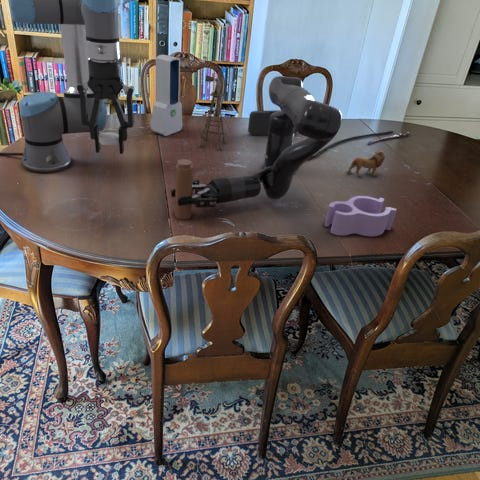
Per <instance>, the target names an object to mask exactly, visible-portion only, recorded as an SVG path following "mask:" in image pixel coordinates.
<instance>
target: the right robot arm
mask: <svg viewBox="0 0 480 480" xmlns="http://www.w3.org/2000/svg"><path fill="white" fill-rule="evenodd" d="M303 86H304V84H303V81H302V79H301V78H300V77H296V76H281V75H279V76H278V75H277V76H275V77H273V78H271V81H270V83H269V86H268V96H269V99H270V101H271V103H272V104H273V105H275V106H277V107H278V108H280V109H281V110H280V111H277V112H274V113H272V114H271V116H270V123H269V131H268V135H267V138H266V147H265V153H264V154H263V155H264V162H263V169H261V170H258V171H256V172H254V173H250V174H248V175H247V174H246V175H245V174H244V175H239V176H236V175H234V176H226V177H218V178H213V179H211V180H210V181H209V182H208V183H200V179H194V180H193V181H192V196H191V197H190V196H188V197H181V198H178V205H179V206H181V205H188V204H191V205H192V206H195V208H197V209H200V208H201V209H202V208H204V209H205V208H216V206H217V205H219V204H226V203H232V202H237V201H240V200H244V199H251V198H255V197H258V196H259V195H260V193H261V190H262V187H263V190H264V192H265V194H266V196H267V197H268V198H269V199H271V200H279V199H281V198H283V197H284V196H286V195H287V193H288V191H289V189H290V187H291V184H292V181H293V178H294V175H296V173H297V172H298V171H299V169H300V168H302V166H303V165H304V164H305V162H307V161H309V160H312V159H314V158H316V157H318V156H319V155H320V154H322V153H323V152H324V151H326V150H328V149H330V148H331V147H332V148H333V147H334V146H336V145H338V144H341V143H344V142H347V141H350V140H355V139H361V138H367V137H372V136H380V135H387V134H393V133H394V130H388V131H382V132H381V131H380V132H375V133H368V134H362V135H356V136H352V137H351V136H350V137H346V138H343V139H341V140H338V141H336V142H333V143H331V144H329V143H330V142H332V140H334V138H335V137H336V136H337V134H338V133H339V131H340V129H341V124H342V120H343V115H342V111H340V109H339V108H336V107H334V106H331V105H329V104H326V103H324V102H321V101H317V100H315V98H314V97H313V95H312V93H310V91H308V90H307V89H306V88H304V87H303ZM295 129H296V131H297V132H296V133H298V134H299V135H301V136H303V137H306V138H305V139H303V140H301V141H299V142H296V143H294V137H295V133H294V131H295ZM328 144H329V145H328ZM261 186H262V187H261ZM170 196H171V197H172V198H175V188H172V189H171V190H170Z"/></svg>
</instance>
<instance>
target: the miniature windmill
mask: <svg viewBox="0 0 480 480" xmlns="http://www.w3.org/2000/svg"><path fill="white" fill-rule="evenodd" d="M219 72H220V73H219V75H217V78H214V77H213V76H210V75H205V83H207V82H208V83H212V82H215V88H214V91H211V93H210V94H209V96H211V97H212V99H211V101H210V103H211V104H210V106H209V110H208V113H207V118H206V122H205V124H204V129H203V131H202V132H203V133H202V136H201V141H200V145H199V147H202V146H203V143H204V139H205V140H206V141H208V140H213V141H218V150H222V149H221V141H222V143H223V144H225V143H226V140H225V139H226V138H225V136H226V134H225V132H224V131H225V130H224V121H223V115H222V107H221V100H220V98H221V97H223V96H224V95H225V93H223V92H221V89H222V86H223V84H222V83H223V77H224V75H223V70H222V67H220V69H219ZM214 104H216V109H213V108H214ZM214 112H217V113H214ZM212 115H216V116H217V120H215V119H212ZM211 122H216V123H217V125H216V124H211ZM210 127H216V128H217V132H216V131H211V130H209V129H210ZM220 128H221V131H220ZM209 133H211V134H217V138H213V137H208V136H209Z"/></svg>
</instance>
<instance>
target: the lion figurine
mask: <svg viewBox="0 0 480 480" xmlns="http://www.w3.org/2000/svg"><path fill="white" fill-rule="evenodd" d="M385 154H386V153H385V152H384V151H383V150H377V151H375V153H374V155H372V156H371V157H370V158H364V157H361V156H360V157H355V158H354V160H353V161H352V162H351V164H350V166H349V167H348V170H347V173H346V175H349V174H352V171H351V170H352V169H354V168H355V174H356V176H357V177H359V178H360V177H362V176H361V174H360V173H359V172H360V171H361V169H362V168H364V169H367V172H366V173H367V174H371V177H376V174H375V173H376V171H377V169H378V168H380V167H381V166H382V165H383V163H384V161H385V159H386V155H385Z"/></svg>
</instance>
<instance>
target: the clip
mask: <svg viewBox="0 0 480 480" xmlns="http://www.w3.org/2000/svg"><path fill="white" fill-rule="evenodd" d="M384 201H385V198H383V197H379V198H376V197H373V196H368V195H357V196H352V197H350V198H349V200H347V201H339V200H338V201H337V200H335V201H332V202H330V203H329V205H328V208H327V214H326V218H325V222H324V227H326V228H329V227H330V226H331V227H330V233H331V234H333V235H336V236H348V235H353V234H356V235H360V236H364V237H365V236H366V237H378V236H381V235H382V234H384V232H385V230H387V231H391V229H392V226H393V222H394V219H395V216H396V213H397V210H398V209H397V208H395V207H391V206H385V207H384V211H383V212H382V209H383V206H384Z"/></svg>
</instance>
